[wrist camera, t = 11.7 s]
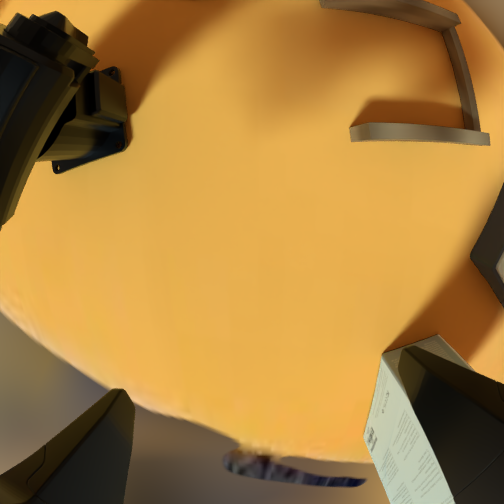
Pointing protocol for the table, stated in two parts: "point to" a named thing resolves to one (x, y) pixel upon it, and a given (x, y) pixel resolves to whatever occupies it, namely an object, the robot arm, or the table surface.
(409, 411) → the hard drive box
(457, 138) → the wooden rack
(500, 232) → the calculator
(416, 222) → the table surface
